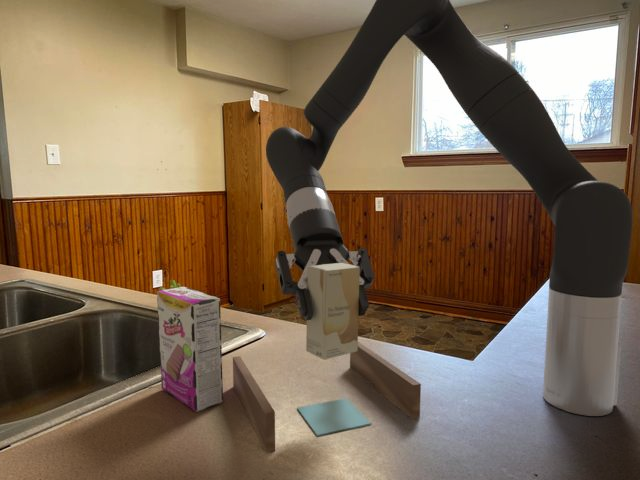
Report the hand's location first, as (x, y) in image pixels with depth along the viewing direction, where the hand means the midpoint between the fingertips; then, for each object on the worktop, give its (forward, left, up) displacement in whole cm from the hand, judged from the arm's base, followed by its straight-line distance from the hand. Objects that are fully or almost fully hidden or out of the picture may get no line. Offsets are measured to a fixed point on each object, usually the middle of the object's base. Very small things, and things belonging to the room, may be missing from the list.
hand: (336, 315), depth 60 cm
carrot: (+19, -33, -15) cm, 41 cm away
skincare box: (0, -2, -6) cm, 6 cm away
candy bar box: (+18, -15, -15) cm, 28 cm away
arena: (0, -6, -15) cm, 16 cm away
